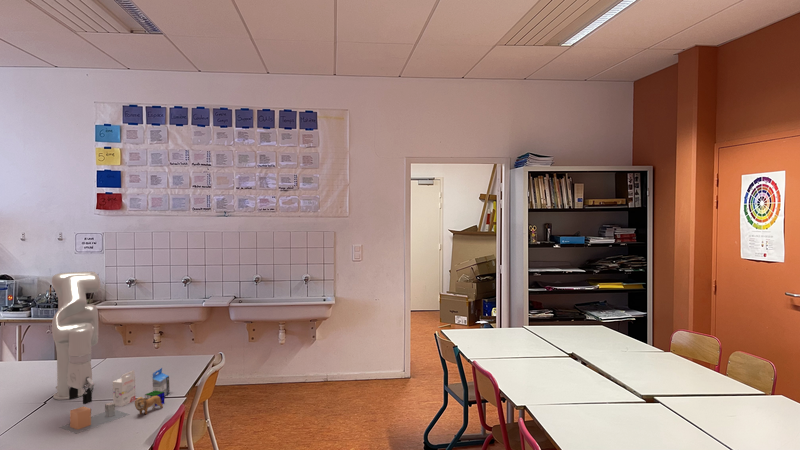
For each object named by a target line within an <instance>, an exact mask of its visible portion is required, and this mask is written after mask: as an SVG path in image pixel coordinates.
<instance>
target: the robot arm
mask: <svg viewBox="0 0 800 450" xmlns="http://www.w3.org/2000/svg"><path fill="white" fill-rule="evenodd" d="M51 284H52V287H53V289H54V292H55V294H56V296H57V298H58V299H57V300H58V301H57V305H58V307H57V308H58V309H57V311H56V313H55V314H54V315H53V318H52V321H51V322H52V323H51V329H52V330H51V331H52V332H51V333H52V338H53V339H52V340H53V342H54V344H55V349H56V350H55V351H56V371H57V372H56V377H57V378H56V382H57V386H55V389H56V391H57V392H56V393H54V394H53V399H54V400H57V401H58V400H59V401H62V400H63V401H64V400H72V399H76V398H79V397H81V396H82V404H83V405H86V404H90V403H92V402H93V391H94V387H95V383H94V382H93V369H92V364H91V362H92V347H93V346H95V345H97V344H98V342H99V310H98V307H97V306H96V305H95V304H88V302H87V301H88V300H87V295H86V294H91V293H97V292H99V291H100V289H101V279H100V277H99V275H98V274H97V273H96V272H95V271H75V272H74V271H71V272H59V273H56V274H54V275H52V277H51Z"/></svg>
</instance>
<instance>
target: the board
mask: <svg viewBox="0 0 800 450" xmlns="http://www.w3.org/2000/svg"><path fill="white" fill-rule="evenodd" d="M130 415H131V414H130V413H127V412H123V411H120V410H117V409H115V415H114V416H111V417H106V416H105V411H103V412H101V413H97V414H95V415H91V425H89V426H86V427H84V428H81V429H78V430H77V429H74V428H72V427H70V423H68V424H66V425H65V424H64V425H62V426H59V427H58V428H60V429H62V430H65V431H68V432H70V433H73V434H79V433H83V432H85V431H88V430H91V429H94V428H97V427H99V426H103V425H104V424H107V423H110V422H113V421H116V420H118V419H119V420H120V419H122V418H125V417H126V416H130Z"/></svg>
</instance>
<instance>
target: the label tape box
mask: <svg viewBox="0 0 800 450" xmlns="http://www.w3.org/2000/svg"><path fill="white" fill-rule="evenodd" d="M162 371H163V367H160V368H159V369H158V370H156V371H154V372H153V373H152V392H153V391H155V390H156V391H161V392H164V397H165V396H167V395H168V394H170V392H171V391H170V375H168V374H166V373H164V372H162Z"/></svg>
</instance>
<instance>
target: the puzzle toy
mask: <svg viewBox="0 0 800 450" xmlns="http://www.w3.org/2000/svg"><path fill="white" fill-rule="evenodd" d="M153 396H159V397H160V399H161V404H162V405H165V396H164V392H161V391H156V390H155V391H153V390H152V391H150V392H148V393H145V394H144V398H145V399H149V398H151V397H153ZM151 407H152V408H153V406H151ZM155 407H158V405H157V404H155Z"/></svg>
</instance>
